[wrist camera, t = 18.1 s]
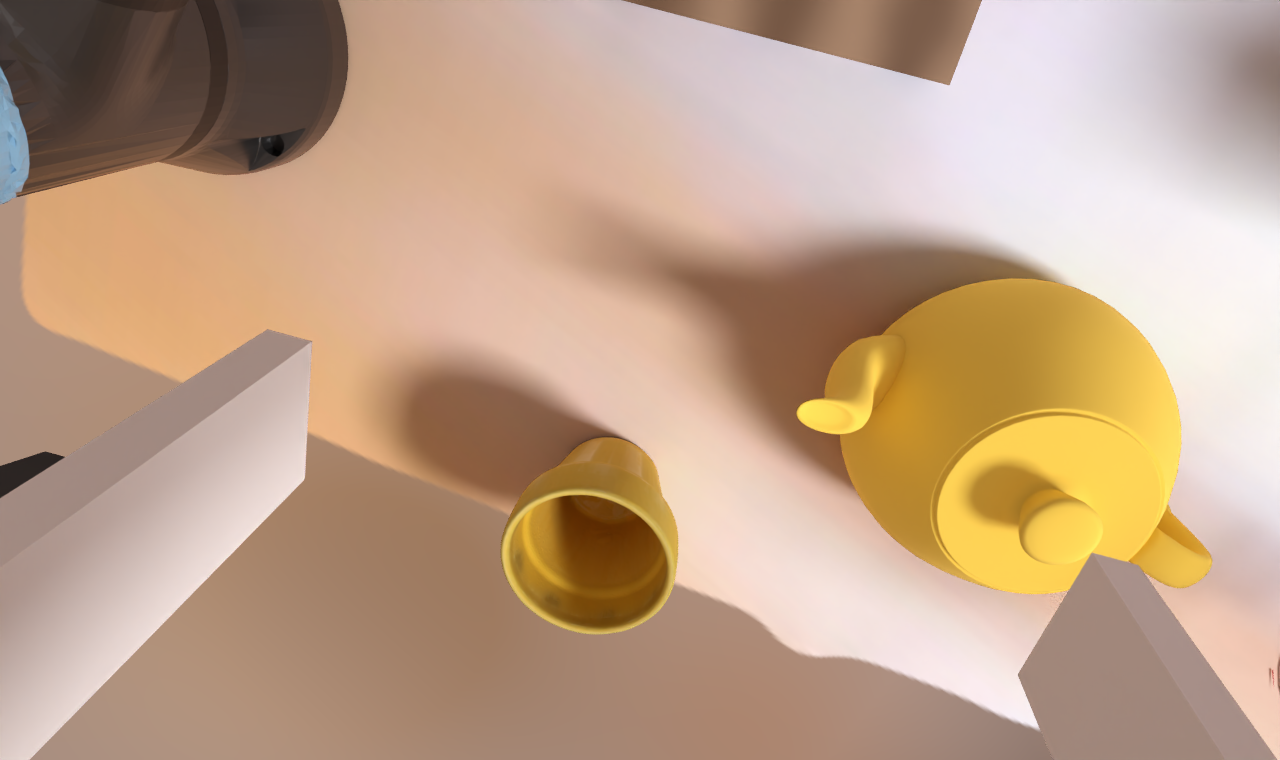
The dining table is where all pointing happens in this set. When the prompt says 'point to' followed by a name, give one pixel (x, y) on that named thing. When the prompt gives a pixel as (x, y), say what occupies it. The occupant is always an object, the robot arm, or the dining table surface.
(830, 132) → the dining table surface
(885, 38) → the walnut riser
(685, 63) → the dining table surface
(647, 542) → the plant pot
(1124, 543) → the teapot
